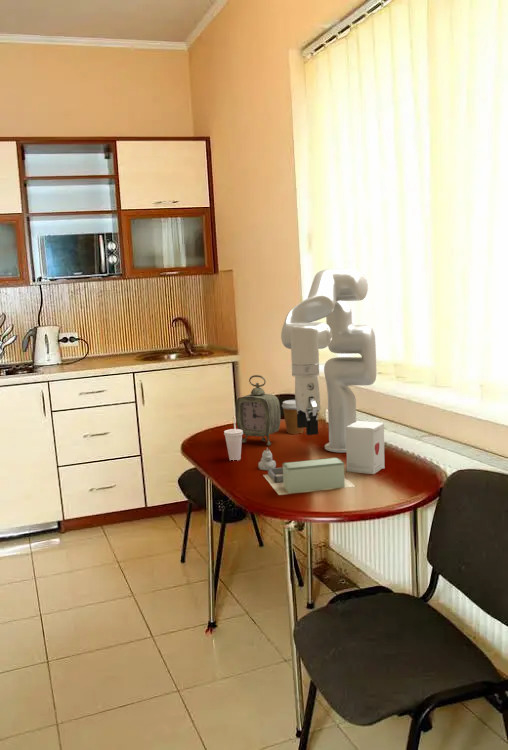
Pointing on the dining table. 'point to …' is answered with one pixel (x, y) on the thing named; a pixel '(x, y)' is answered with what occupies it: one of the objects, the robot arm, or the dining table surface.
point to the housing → (313, 475)
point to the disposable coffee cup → (291, 417)
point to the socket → (273, 473)
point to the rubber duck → (267, 461)
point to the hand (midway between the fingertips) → (307, 430)
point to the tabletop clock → (258, 413)
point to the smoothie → (234, 442)
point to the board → (282, 491)
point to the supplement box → (365, 447)
